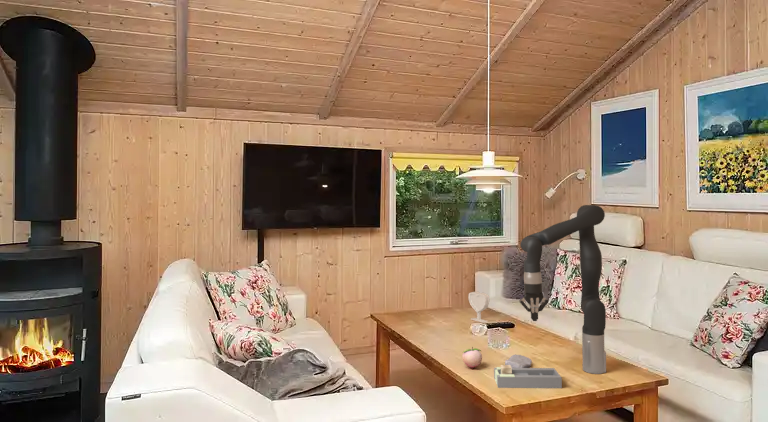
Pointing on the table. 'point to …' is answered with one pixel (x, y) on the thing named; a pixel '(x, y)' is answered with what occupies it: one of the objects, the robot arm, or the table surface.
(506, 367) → the cube
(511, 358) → the stone block
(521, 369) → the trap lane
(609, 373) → the table surface
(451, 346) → the table surface
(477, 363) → the decorative fruit
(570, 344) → the table surface
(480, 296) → the heart sculpture
